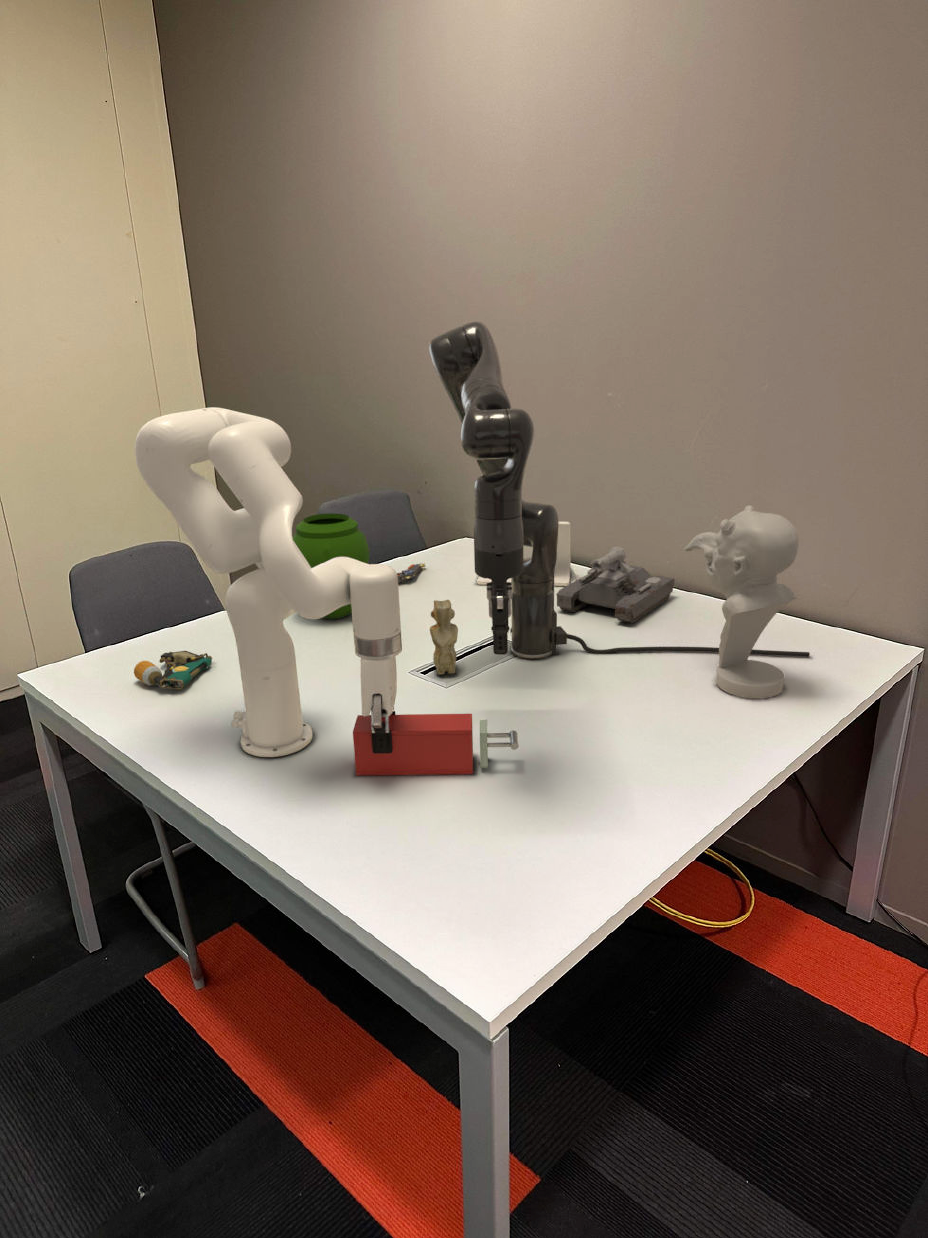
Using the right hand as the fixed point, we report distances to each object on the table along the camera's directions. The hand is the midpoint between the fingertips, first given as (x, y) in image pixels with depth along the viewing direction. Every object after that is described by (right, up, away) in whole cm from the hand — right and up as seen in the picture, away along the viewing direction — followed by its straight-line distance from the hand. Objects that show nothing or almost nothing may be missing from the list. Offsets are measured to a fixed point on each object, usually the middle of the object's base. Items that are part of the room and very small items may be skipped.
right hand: (500, 644), depth 135 cm
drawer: (-8, -20, +8) cm, 23 cm away
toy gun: (-23, +16, +105) cm, 109 cm away
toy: (+32, +7, +79) cm, 86 cm away
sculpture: (-10, -7, +44) cm, 46 cm away
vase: (-38, +5, +78) cm, 87 cm away
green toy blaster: (-66, -8, +45) cm, 81 cm away
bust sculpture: (+48, -8, +36) cm, 60 cm away
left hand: (-19, -16, +7) cm, 26 cm away
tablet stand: (+11, +16, +104) cm, 105 cm away
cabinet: (-14, -21, +8) cm, 26 cm away
